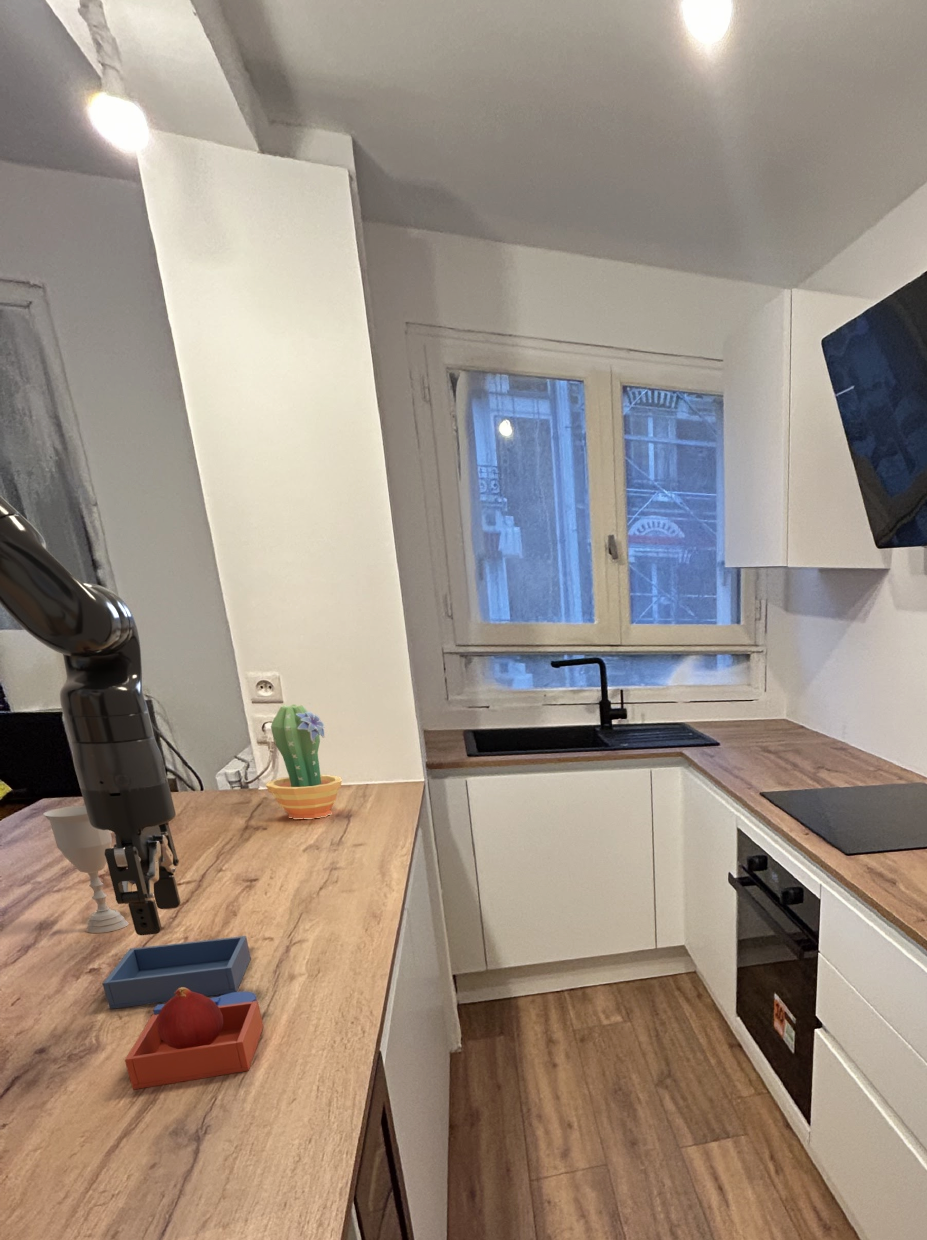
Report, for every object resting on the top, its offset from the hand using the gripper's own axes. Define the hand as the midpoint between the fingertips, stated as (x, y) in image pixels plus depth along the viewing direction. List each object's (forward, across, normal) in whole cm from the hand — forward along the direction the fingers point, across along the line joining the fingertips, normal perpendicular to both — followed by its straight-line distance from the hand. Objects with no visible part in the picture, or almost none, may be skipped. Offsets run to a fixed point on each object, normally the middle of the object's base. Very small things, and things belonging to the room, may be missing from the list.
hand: (160, 920), depth 93 cm
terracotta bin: (+13, +11, +4) cm, 17 cm away
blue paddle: (+13, 0, +2) cm, 13 cm away
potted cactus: (+13, -103, +3) cm, 104 cm away
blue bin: (+13, -11, -2) cm, 17 cm away
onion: (+12, +11, +3) cm, 17 cm away
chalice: (+13, -37, -17) cm, 43 cm away
